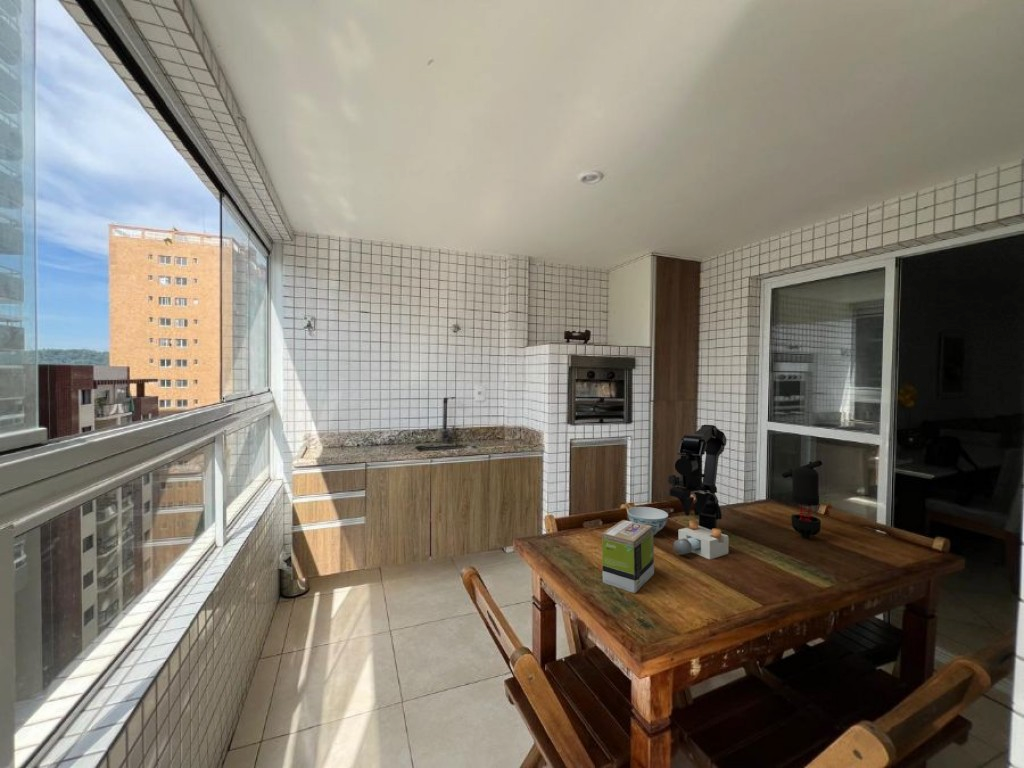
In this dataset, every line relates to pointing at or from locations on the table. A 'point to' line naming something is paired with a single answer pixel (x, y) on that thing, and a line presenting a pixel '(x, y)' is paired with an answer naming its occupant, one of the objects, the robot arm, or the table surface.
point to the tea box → (627, 555)
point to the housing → (706, 542)
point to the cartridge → (686, 545)
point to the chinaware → (648, 517)
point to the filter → (805, 497)
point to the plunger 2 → (716, 533)
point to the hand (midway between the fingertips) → (693, 514)
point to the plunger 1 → (693, 525)
